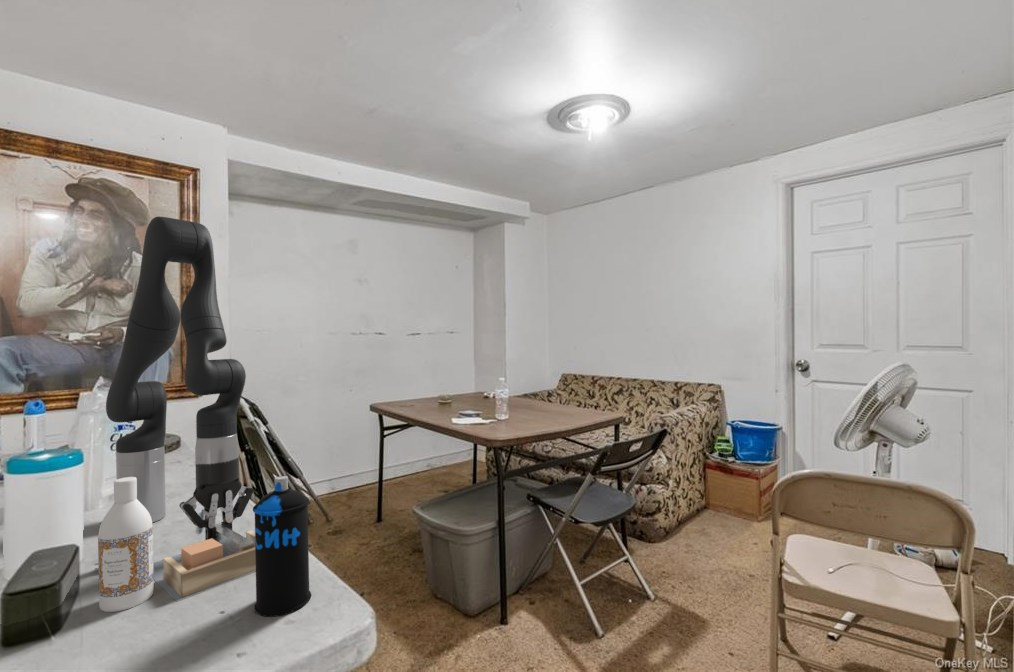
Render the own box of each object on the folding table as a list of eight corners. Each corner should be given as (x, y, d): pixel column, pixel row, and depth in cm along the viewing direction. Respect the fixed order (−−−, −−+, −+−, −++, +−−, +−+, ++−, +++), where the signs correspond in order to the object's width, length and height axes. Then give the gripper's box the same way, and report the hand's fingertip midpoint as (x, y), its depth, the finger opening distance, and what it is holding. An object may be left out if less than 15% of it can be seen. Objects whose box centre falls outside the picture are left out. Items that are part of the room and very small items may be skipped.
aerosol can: (271, 588, 80) (269, 471, 80) (319, 588, 80) (317, 470, 80) (243, 617, 72) (240, 485, 72) (296, 617, 71) (293, 485, 72)
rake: (162, 563, 90) (162, 540, 90) (219, 544, 98) (219, 523, 98) (193, 589, 80) (192, 563, 80) (254, 565, 88) (253, 542, 88)
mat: (140, 567, 89) (140, 566, 89) (237, 537, 102) (237, 536, 102) (177, 602, 76) (177, 601, 76) (281, 562, 90) (281, 561, 90)
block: (181, 575, 85) (181, 547, 85) (212, 564, 89) (211, 538, 89) (191, 584, 82) (191, 555, 82) (223, 572, 86) (222, 544, 86)
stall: (163, 580, 84) (162, 558, 84) (251, 550, 95) (251, 530, 95) (183, 599, 77) (182, 574, 77) (275, 563, 89) (274, 542, 89)
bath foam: (88, 617, 73) (86, 487, 73) (115, 593, 80) (113, 475, 80) (140, 610, 74) (138, 483, 75) (161, 587, 81) (159, 471, 81)
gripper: (245, 448, 104) (246, 527, 103) (171, 462, 93) (172, 550, 93) (260, 453, 99) (262, 535, 99) (184, 467, 88) (186, 560, 88)
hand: (219, 542), depth 96 cm, fingers closed on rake, 2 cm apart
